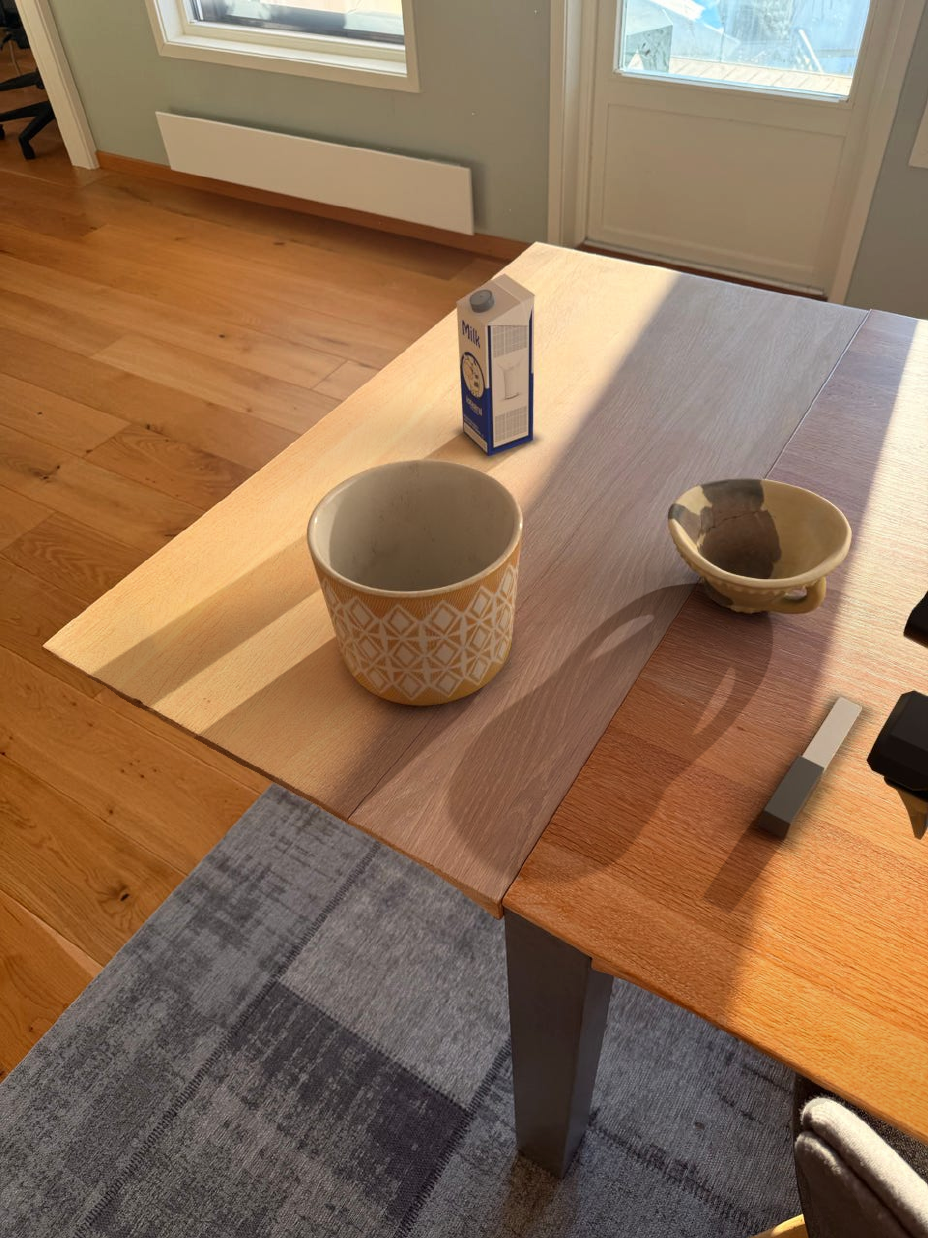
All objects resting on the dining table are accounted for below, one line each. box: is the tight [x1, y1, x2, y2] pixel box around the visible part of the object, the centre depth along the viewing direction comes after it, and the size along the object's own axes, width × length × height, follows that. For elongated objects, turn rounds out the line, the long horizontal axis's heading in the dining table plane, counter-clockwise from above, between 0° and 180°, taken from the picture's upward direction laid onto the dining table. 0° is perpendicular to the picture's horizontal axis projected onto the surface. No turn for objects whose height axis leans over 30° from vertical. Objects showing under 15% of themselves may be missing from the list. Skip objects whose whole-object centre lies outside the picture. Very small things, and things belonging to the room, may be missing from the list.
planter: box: [306, 459, 524, 707], centre depth 87 cm, size 19×19×16 cm
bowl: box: [667, 477, 853, 615], centre depth 93 cm, size 18×18×10 cm
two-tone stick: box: [757, 696, 863, 841], centre depth 79 cm, size 17×2×2 cm, turn 142°
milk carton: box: [455, 273, 536, 457], centre depth 112 cm, size 7×7×20 cm
